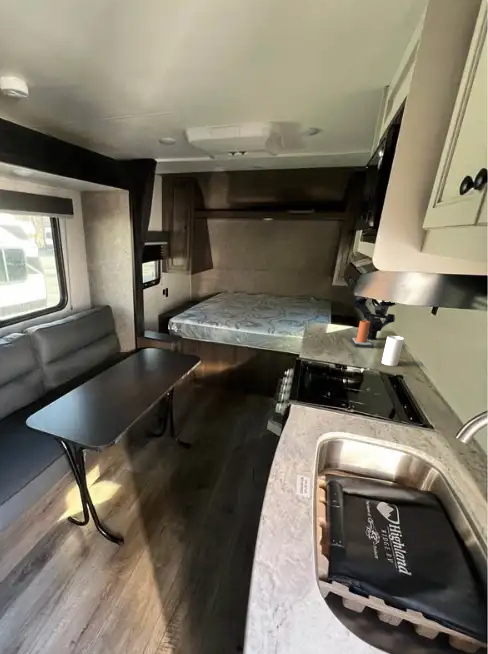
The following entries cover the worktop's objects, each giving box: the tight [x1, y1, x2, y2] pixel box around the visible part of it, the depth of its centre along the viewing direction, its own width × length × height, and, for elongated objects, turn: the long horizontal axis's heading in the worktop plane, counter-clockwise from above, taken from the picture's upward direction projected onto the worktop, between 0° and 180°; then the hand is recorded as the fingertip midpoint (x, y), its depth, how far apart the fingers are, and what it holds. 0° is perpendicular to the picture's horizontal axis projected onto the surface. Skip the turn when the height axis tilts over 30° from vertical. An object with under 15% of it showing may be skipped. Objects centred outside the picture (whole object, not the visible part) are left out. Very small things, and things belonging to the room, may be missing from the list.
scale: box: [350, 337, 374, 349], centre depth 229 cm, size 15×11×3 cm
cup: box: [381, 335, 405, 367], centre depth 192 cm, size 8×8×16 cm
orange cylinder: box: [356, 319, 370, 343], centre depth 225 cm, size 6×6×14 cm
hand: (374, 326), depth 223 cm, fingers open, 9 cm apart
